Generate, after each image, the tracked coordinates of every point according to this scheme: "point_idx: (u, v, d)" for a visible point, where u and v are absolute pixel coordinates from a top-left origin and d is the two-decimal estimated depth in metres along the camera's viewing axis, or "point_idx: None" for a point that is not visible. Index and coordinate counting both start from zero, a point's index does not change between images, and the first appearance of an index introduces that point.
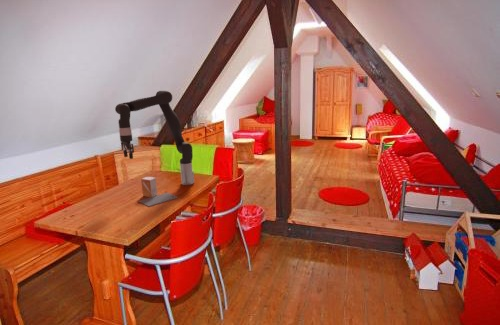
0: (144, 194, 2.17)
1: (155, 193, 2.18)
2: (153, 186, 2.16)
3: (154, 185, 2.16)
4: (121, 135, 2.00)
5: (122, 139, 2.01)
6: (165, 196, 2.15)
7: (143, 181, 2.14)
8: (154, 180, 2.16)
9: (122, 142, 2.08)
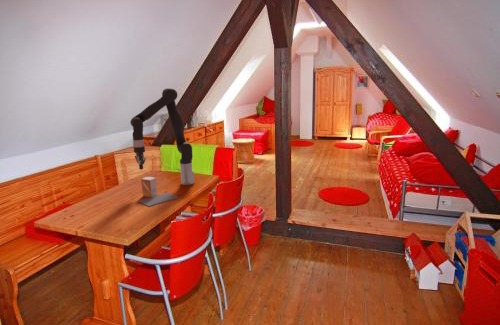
0: (144, 194, 2.17)
1: (155, 193, 2.18)
2: (153, 186, 2.16)
3: (154, 185, 2.16)
4: (135, 147, 2.14)
5: (136, 150, 2.15)
6: (165, 196, 2.15)
7: (143, 181, 2.14)
8: (154, 180, 2.16)
9: (136, 155, 2.23)
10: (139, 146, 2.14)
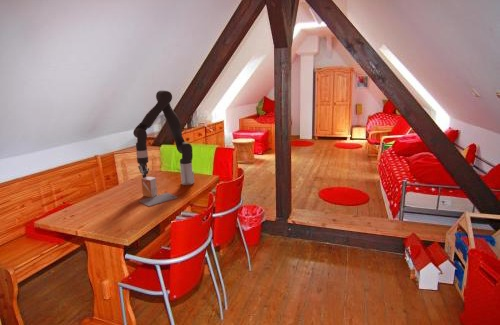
0: (144, 194, 2.17)
1: (155, 193, 2.18)
2: (154, 186, 2.16)
3: (154, 185, 2.16)
4: (138, 157, 2.13)
5: (139, 161, 2.14)
6: (165, 196, 2.15)
7: (143, 181, 2.14)
8: (154, 180, 2.16)
9: None
10: (142, 157, 2.13)
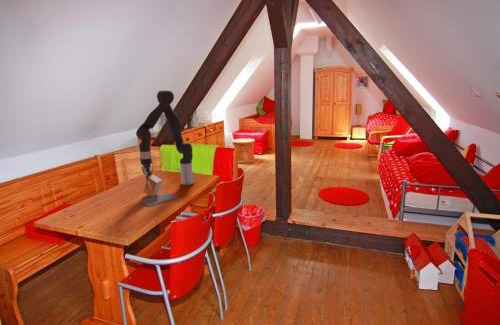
0: (145, 191, 2.16)
1: (156, 193, 2.18)
2: (157, 187, 2.15)
3: (158, 187, 2.15)
4: (142, 158, 2.09)
5: (142, 162, 2.10)
6: (165, 196, 2.15)
7: (149, 180, 2.12)
8: (160, 182, 2.14)
9: (142, 167, 2.18)
10: (146, 158, 2.09)
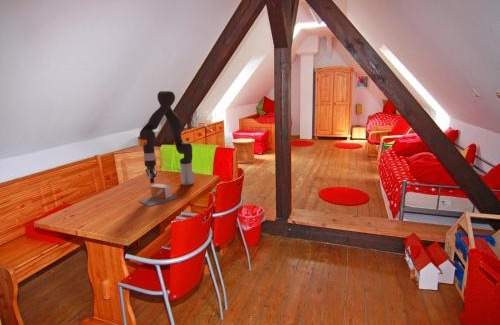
0: (151, 188, 2.13)
1: None
2: None
3: None
4: (146, 160, 2.05)
5: (146, 164, 2.06)
6: None
7: (163, 190, 2.08)
8: None
9: (146, 169, 2.14)
10: (150, 159, 2.05)
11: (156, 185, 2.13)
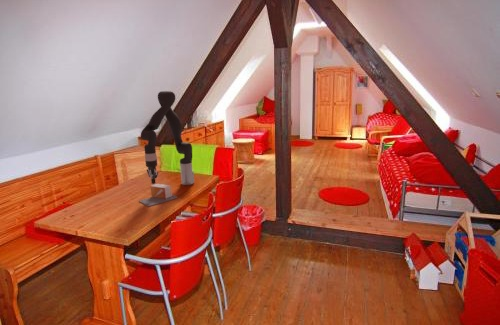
0: (151, 188, 2.13)
1: None
2: None
3: None
4: (147, 160, 2.04)
5: (148, 164, 2.05)
6: None
7: (163, 190, 2.08)
8: None
9: (147, 169, 2.13)
10: (151, 160, 2.04)
11: (156, 185, 2.13)
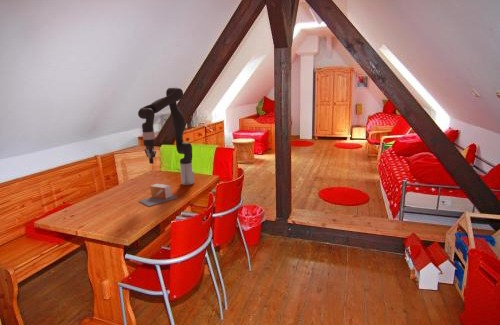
0: (151, 188, 2.13)
1: None
2: None
3: None
4: (145, 139, 2.01)
5: (145, 143, 2.01)
6: None
7: (163, 190, 2.08)
8: None
9: (145, 149, 2.09)
10: (149, 138, 2.01)
11: (156, 185, 2.13)
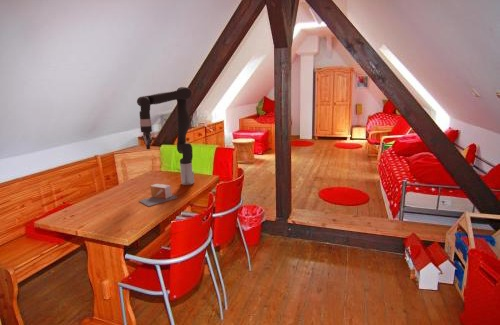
0: (151, 188, 2.13)
1: None
2: None
3: None
4: (142, 126, 2.13)
5: (143, 130, 2.14)
6: None
7: (163, 190, 2.08)
8: None
9: None
10: (146, 125, 2.13)
11: (156, 185, 2.13)
